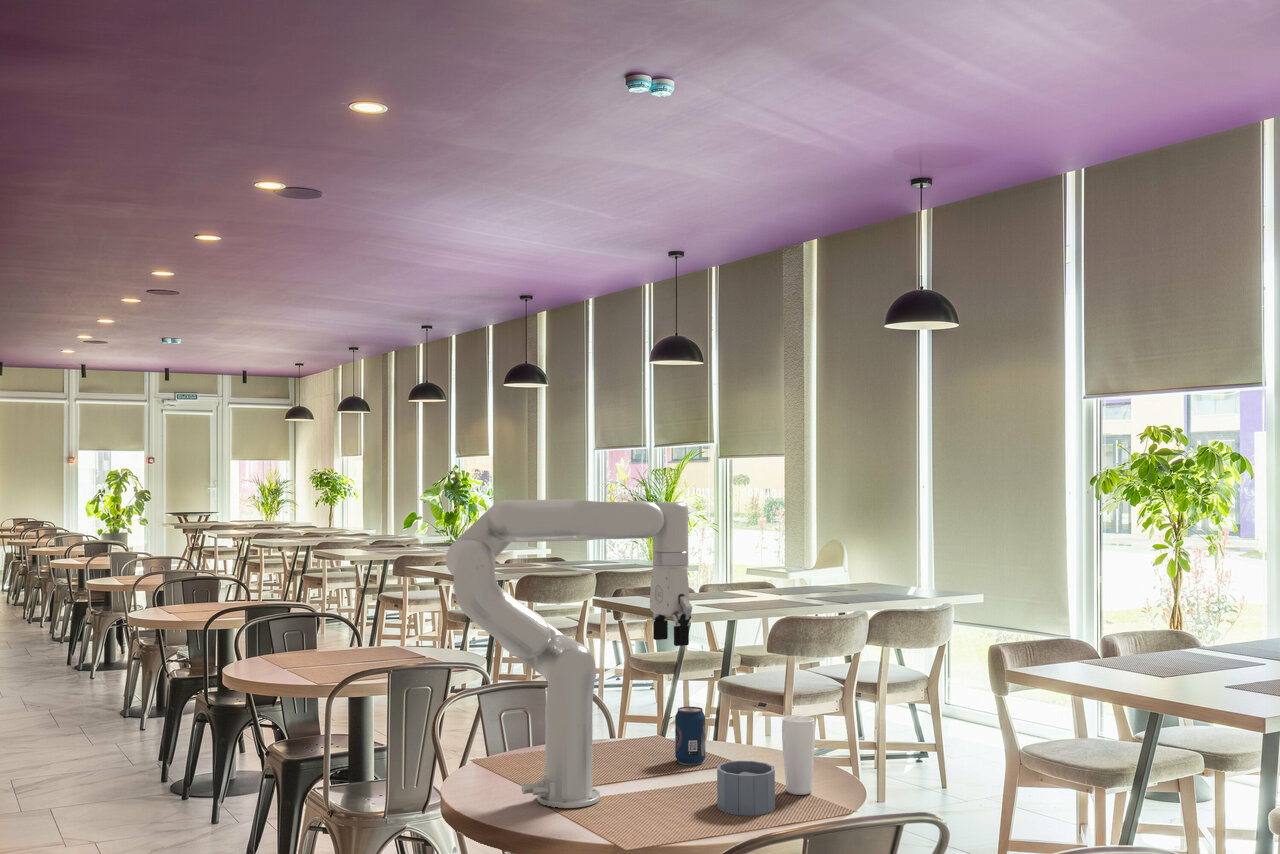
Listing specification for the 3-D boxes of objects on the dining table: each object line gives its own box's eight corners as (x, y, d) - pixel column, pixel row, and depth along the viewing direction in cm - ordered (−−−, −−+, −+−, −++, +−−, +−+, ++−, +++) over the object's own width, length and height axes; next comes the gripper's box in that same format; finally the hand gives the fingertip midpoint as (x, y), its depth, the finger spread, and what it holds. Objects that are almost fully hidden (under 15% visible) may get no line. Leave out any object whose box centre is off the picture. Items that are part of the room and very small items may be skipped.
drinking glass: (819, 790, 219) (818, 716, 220) (810, 798, 213) (809, 723, 214) (787, 786, 222) (787, 713, 223) (778, 794, 216) (777, 720, 217)
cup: (735, 818, 200) (735, 778, 201) (707, 802, 210) (707, 764, 211) (785, 810, 205) (785, 771, 205) (755, 795, 215) (755, 758, 215)
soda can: (673, 758, 245) (673, 706, 246) (702, 757, 246) (702, 705, 246) (677, 766, 238) (677, 712, 239) (708, 765, 239) (707, 711, 239)
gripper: (637, 558, 229) (637, 638, 228) (673, 563, 213) (673, 649, 212) (668, 557, 232) (668, 636, 231) (705, 562, 216) (706, 646, 215)
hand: (670, 642), depth 221 cm, fingers open, 9 cm apart
